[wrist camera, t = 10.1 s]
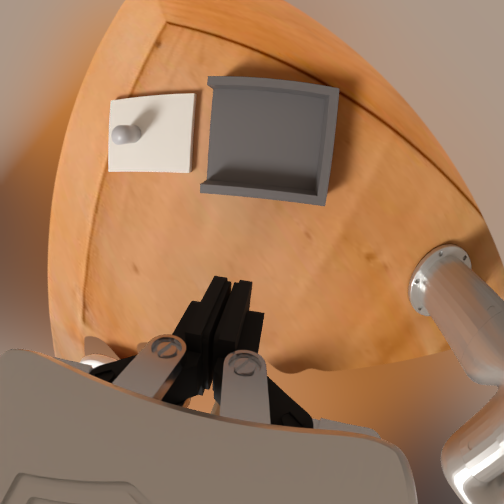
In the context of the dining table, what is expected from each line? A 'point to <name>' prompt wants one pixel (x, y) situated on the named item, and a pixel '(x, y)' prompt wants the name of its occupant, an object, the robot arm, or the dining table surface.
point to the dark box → (271, 139)
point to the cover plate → (152, 133)
